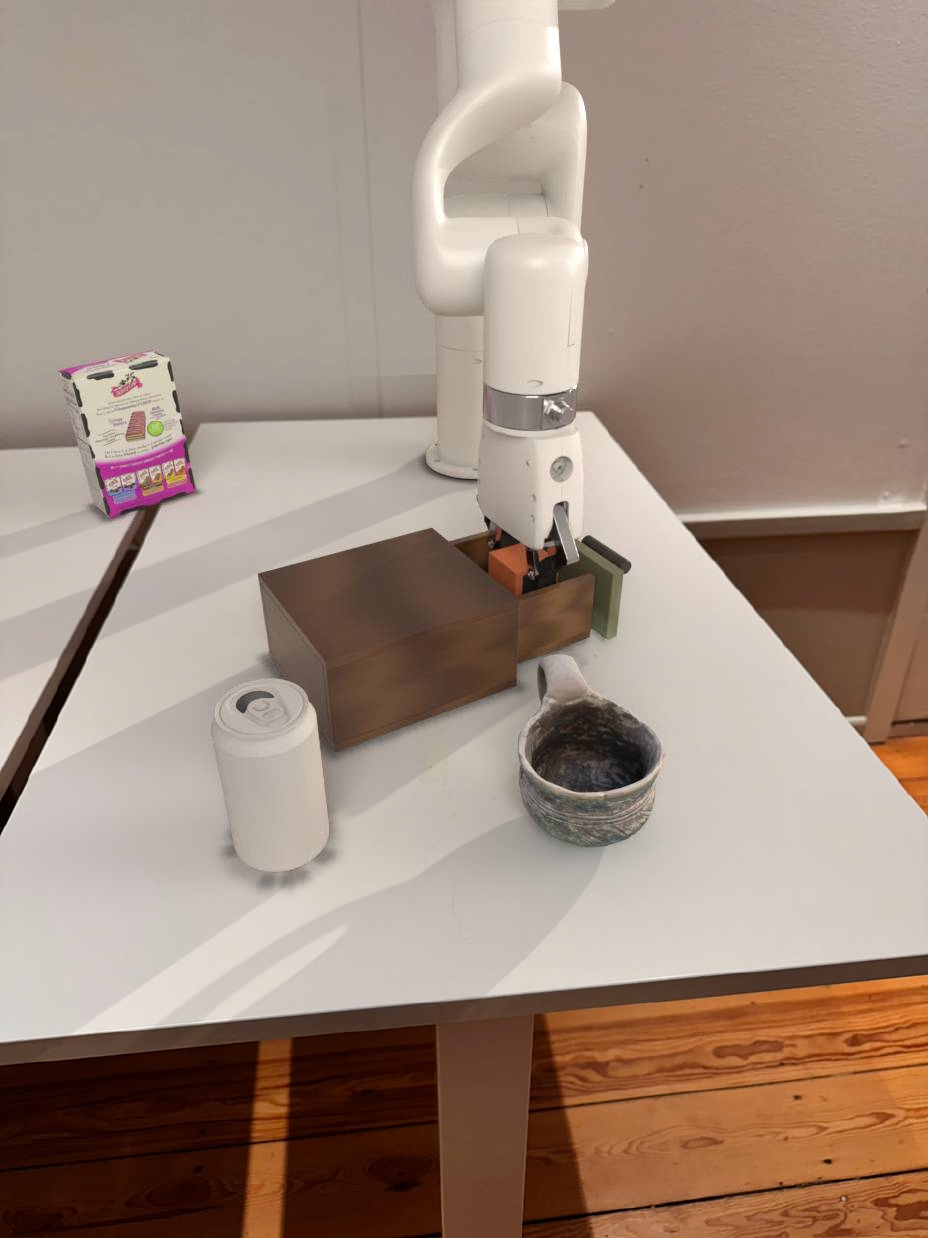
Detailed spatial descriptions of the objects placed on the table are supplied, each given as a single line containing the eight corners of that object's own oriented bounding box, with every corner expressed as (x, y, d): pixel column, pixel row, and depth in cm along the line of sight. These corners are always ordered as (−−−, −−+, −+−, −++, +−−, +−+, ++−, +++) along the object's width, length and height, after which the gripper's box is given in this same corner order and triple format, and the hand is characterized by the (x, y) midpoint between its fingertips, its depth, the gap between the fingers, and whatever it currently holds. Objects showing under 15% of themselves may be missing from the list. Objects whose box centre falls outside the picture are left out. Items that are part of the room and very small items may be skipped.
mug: (558, 892, 56) (568, 776, 51) (471, 771, 66) (471, 662, 60) (680, 842, 60) (702, 728, 54) (581, 734, 69) (590, 628, 64)
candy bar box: (178, 480, 110) (153, 348, 101) (197, 492, 107) (173, 357, 98) (90, 505, 104) (55, 367, 95) (107, 520, 101) (72, 378, 92)
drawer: (567, 561, 91) (571, 501, 87) (652, 623, 81) (661, 558, 77) (395, 614, 82) (392, 550, 79) (468, 689, 73) (468, 620, 69)
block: (528, 582, 83) (530, 540, 80) (556, 604, 80) (559, 560, 77) (487, 594, 81) (488, 551, 78) (514, 617, 78) (516, 573, 75)
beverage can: (294, 795, 64) (275, 660, 57) (349, 843, 60) (335, 705, 53) (217, 842, 60) (186, 704, 53) (270, 896, 56) (245, 754, 50)
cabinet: (433, 606, 85) (432, 527, 80) (516, 686, 75) (519, 599, 70) (269, 657, 78) (257, 573, 73) (335, 752, 68) (325, 661, 63)
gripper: (634, 427, 66) (612, 630, 76) (511, 368, 78) (506, 550, 88) (552, 446, 63) (540, 656, 72) (437, 381, 75) (440, 568, 85)
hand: (521, 596), depth 80 cm, fingers closed on block, 4 cm apart
